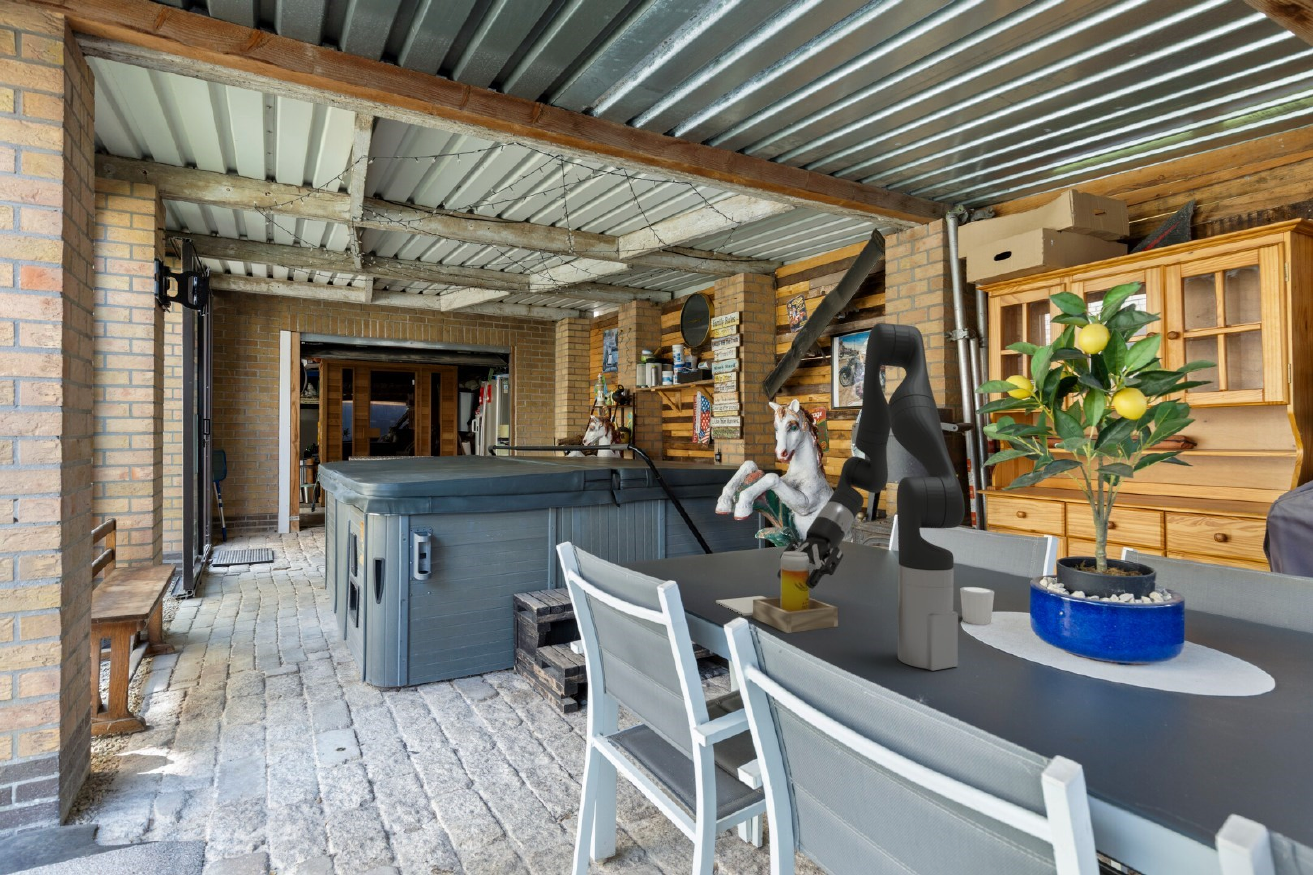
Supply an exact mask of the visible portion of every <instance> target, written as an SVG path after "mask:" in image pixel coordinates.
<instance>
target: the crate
mask: <svg viewBox="0 0 1313 875" xmlns="http://www.w3.org/2000/svg"><path fill="white" fill-rule="evenodd" d="M780 597H781V596H778V597H777V596H776V597H775V596H774V597H766V598H765V599H755V600H753V615H752V618H753V619H755V620H757V621H759V622H762V623H764V624H766V625H768V626H770V627H773V628H775V629H778V630H779V631H782V632H784V633H786V634H791V633H798V632H806V631H807V632H808V631H812V630H813V631H814V630H820V629H829V628H836V627H838V626H839V607H838V606H835V605H831V604H828V603H825V602H823V601H820V600H818V599H814V598H812V597H809V610H802V611H793V612H787V611H785V610H782V609H780Z"/></svg>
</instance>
